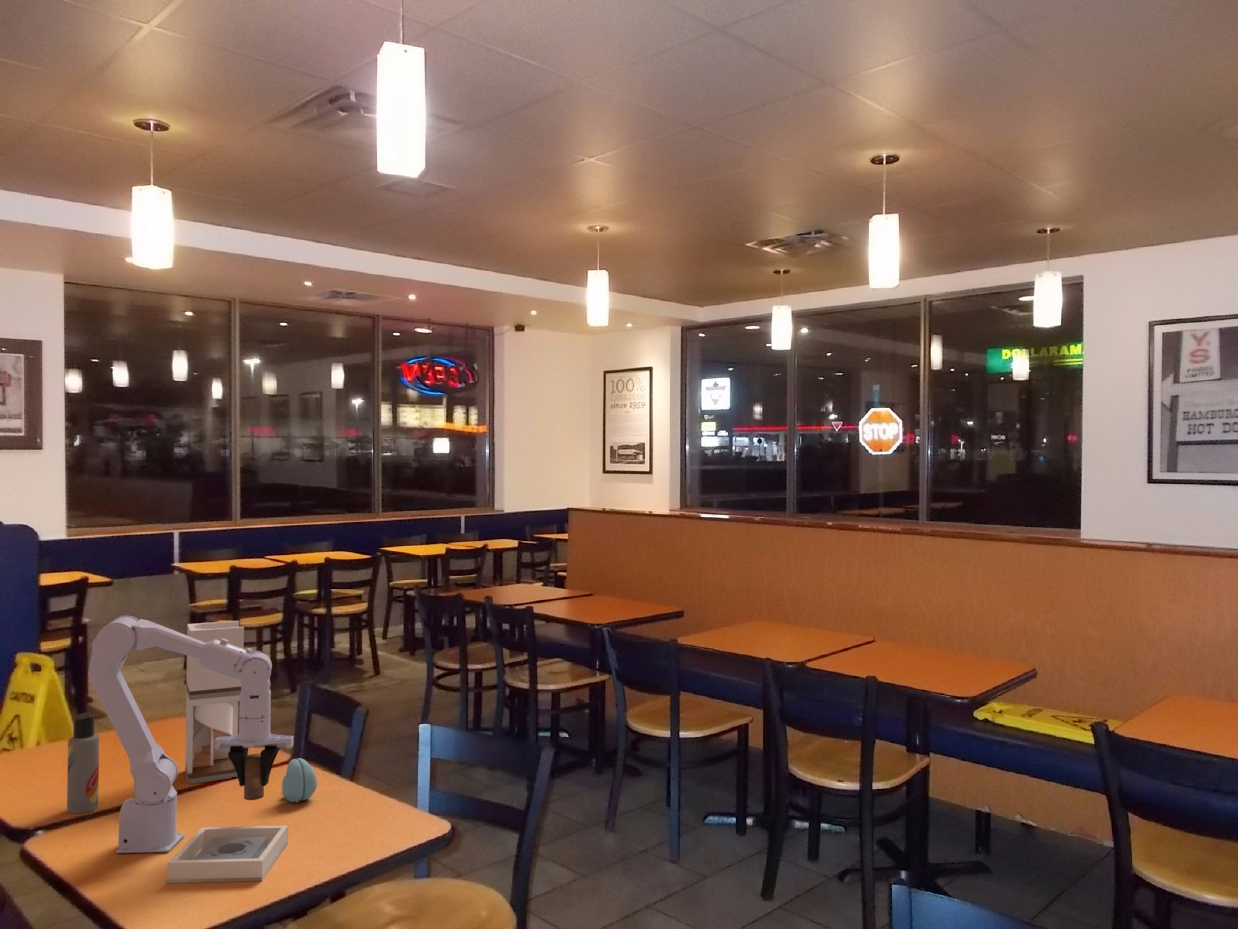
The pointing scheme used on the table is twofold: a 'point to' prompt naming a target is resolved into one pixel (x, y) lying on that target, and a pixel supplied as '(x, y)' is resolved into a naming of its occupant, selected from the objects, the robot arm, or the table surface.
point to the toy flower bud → (299, 781)
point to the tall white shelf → (211, 707)
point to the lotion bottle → (83, 766)
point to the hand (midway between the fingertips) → (254, 784)
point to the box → (228, 854)
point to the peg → (253, 777)
